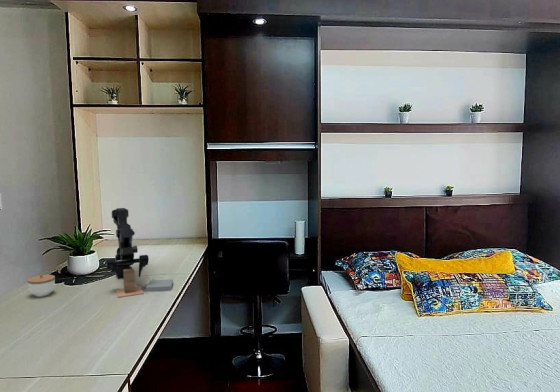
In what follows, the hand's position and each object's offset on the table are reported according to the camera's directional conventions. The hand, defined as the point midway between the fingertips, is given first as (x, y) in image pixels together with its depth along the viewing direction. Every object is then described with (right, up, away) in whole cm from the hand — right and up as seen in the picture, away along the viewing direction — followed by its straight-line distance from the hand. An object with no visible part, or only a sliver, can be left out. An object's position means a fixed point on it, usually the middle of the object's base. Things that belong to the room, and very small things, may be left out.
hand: (129, 277), depth 185 cm
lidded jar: (-39, -8, -2) cm, 40 cm away
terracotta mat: (0, -7, +1) cm, 7 cm away
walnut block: (0, -6, +1) cm, 7 cm away
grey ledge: (+12, -6, +8) cm, 16 cm away
